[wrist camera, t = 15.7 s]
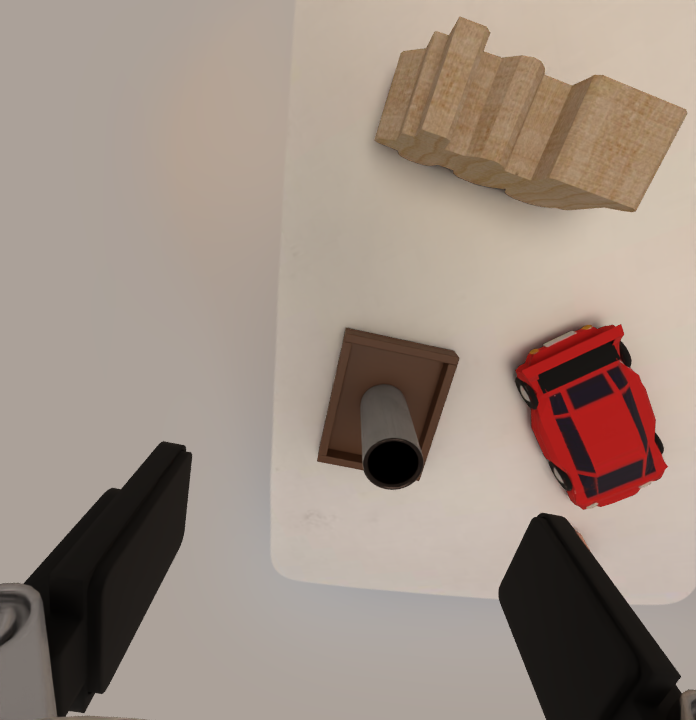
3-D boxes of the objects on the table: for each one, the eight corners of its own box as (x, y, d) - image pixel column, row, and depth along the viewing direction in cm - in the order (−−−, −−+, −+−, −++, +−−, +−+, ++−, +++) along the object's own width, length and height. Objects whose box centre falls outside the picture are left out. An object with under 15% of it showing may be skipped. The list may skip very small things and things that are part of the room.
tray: (345, 327, 37) (345, 333, 35) (454, 350, 37) (459, 357, 35) (318, 450, 41) (317, 461, 39) (416, 469, 42) (419, 481, 40)
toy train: (396, 70, 30) (416, -2, 21) (593, 146, 32) (696, 111, 22) (372, 147, 32) (381, 113, 22) (560, 215, 33) (643, 211, 24)
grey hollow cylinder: (366, 429, 39) (371, 496, 30) (355, 389, 38) (355, 445, 28) (410, 419, 39) (429, 483, 29) (400, 378, 38) (416, 431, 28)
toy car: (570, 508, 43) (597, 542, 38) (491, 362, 38) (511, 382, 33) (665, 465, 41) (705, 496, 36) (596, 305, 36) (633, 317, 31)
